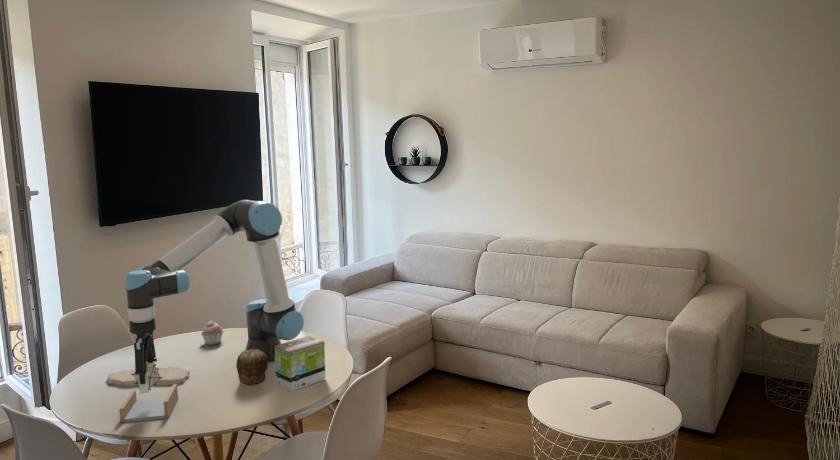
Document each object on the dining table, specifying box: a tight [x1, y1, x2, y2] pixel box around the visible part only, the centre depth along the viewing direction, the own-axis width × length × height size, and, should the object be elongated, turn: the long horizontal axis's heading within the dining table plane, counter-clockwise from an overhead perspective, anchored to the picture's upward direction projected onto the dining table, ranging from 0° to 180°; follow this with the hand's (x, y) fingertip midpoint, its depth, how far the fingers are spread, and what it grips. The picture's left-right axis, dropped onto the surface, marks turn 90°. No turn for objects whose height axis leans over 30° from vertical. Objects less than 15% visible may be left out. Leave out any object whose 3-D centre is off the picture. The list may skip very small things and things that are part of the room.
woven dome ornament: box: [235, 349, 269, 386], centre depth 224 cm, size 11×11×12 cm
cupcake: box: [200, 320, 225, 346], centre depth 267 cm, size 9×9×10 cm
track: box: [118, 384, 179, 423], centre depth 203 cm, size 14×14×6 cm
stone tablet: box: [107, 366, 191, 388], centre depth 231 cm, size 16×30×2 cm, turn 91°
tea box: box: [274, 335, 326, 393], centre depth 222 cm, size 15×10×15 cm
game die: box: [131, 364, 162, 391], centre depth 201 cm, size 9×8×10 cm
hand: (148, 387), depth 202 cm, fingers closed on game die, 8 cm apart
